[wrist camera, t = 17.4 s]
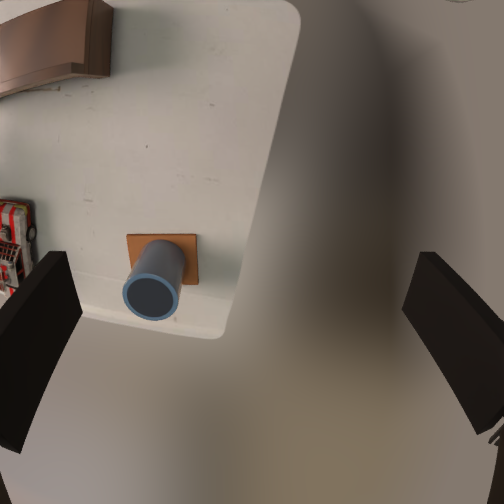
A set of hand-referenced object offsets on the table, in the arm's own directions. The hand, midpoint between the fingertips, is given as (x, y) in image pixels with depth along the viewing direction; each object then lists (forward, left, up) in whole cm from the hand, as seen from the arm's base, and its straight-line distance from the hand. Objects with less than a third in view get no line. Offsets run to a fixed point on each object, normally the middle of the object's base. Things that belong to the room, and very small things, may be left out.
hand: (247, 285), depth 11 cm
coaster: (+10, +16, -31) cm, 36 cm away
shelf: (+28, -15, -31) cm, 44 cm away
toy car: (+36, +14, -31) cm, 49 cm away
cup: (+10, +16, -30) cm, 36 cm away
